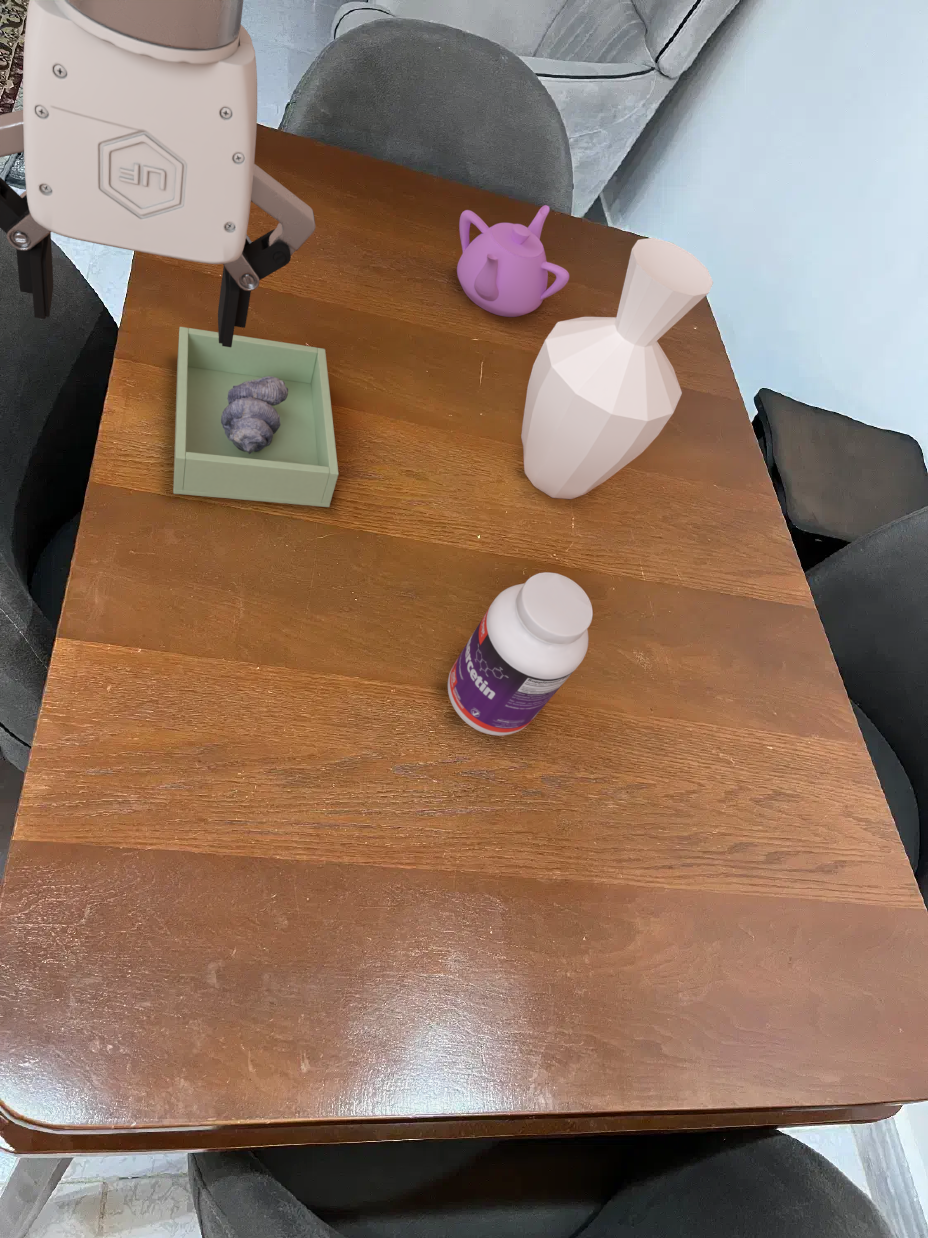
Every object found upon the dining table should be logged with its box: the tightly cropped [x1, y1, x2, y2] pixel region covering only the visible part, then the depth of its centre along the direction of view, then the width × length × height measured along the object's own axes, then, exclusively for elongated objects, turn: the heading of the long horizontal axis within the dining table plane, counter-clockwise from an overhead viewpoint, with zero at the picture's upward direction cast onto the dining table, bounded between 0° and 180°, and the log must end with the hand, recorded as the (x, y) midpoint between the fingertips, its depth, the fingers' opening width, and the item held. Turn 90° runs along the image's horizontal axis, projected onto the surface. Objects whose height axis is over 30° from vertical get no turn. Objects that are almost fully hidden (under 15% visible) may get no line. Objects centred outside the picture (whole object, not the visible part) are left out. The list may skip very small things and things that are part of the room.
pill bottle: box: [447, 571, 594, 737], centre depth 66 cm, size 8×8×14 cm
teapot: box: [456, 204, 570, 318], centre depth 102 cm, size 12×14×9 cm
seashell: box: [221, 376, 288, 454], centre depth 77 cm, size 5×5×10 cm
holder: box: [172, 326, 340, 508], centre depth 77 cm, size 14×17×4 cm
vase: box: [520, 237, 714, 500], centre depth 81 cm, size 14×14×25 cm
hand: (137, 317), depth 48 cm, fingers open, 9 cm apart
